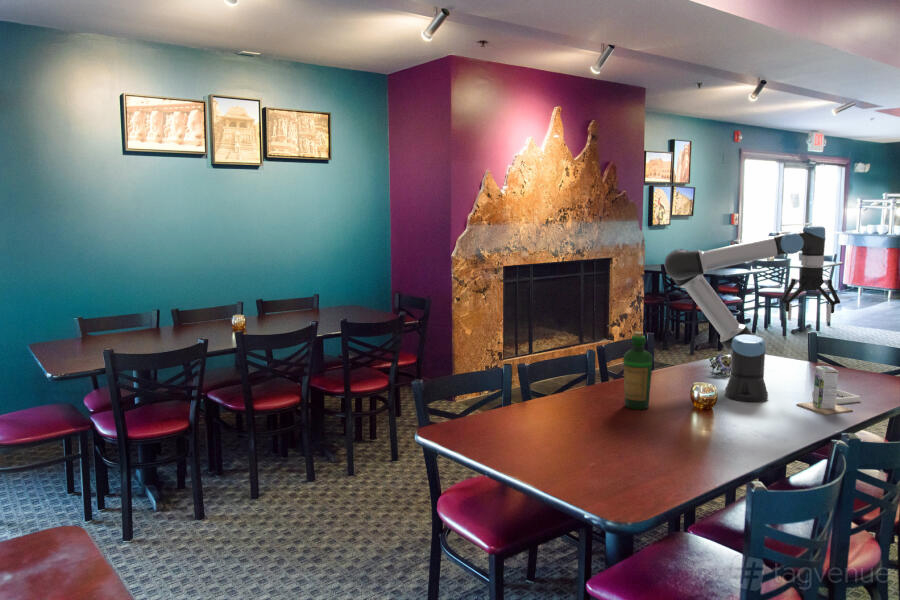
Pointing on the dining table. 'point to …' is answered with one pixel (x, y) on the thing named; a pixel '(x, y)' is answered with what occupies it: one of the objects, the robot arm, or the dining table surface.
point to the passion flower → (721, 363)
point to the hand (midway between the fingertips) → (808, 320)
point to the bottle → (637, 374)
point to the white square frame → (846, 397)
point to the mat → (825, 411)
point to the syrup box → (825, 387)
